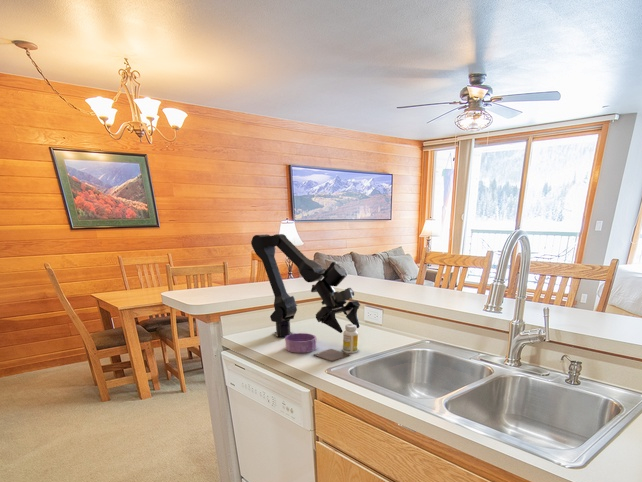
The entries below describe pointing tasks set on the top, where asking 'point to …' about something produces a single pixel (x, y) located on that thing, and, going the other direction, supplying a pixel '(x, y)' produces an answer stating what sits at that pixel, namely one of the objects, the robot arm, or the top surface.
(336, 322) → the robot arm
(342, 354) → the coaster
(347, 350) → the supplement bottle
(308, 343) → the dish
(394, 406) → the top surface
